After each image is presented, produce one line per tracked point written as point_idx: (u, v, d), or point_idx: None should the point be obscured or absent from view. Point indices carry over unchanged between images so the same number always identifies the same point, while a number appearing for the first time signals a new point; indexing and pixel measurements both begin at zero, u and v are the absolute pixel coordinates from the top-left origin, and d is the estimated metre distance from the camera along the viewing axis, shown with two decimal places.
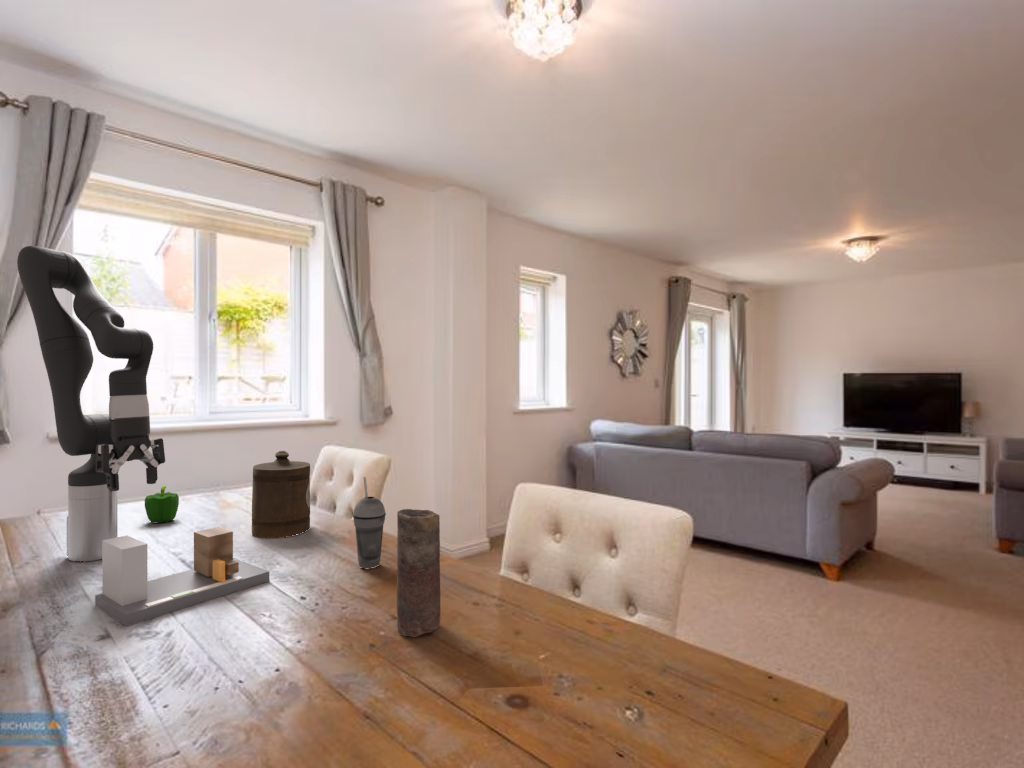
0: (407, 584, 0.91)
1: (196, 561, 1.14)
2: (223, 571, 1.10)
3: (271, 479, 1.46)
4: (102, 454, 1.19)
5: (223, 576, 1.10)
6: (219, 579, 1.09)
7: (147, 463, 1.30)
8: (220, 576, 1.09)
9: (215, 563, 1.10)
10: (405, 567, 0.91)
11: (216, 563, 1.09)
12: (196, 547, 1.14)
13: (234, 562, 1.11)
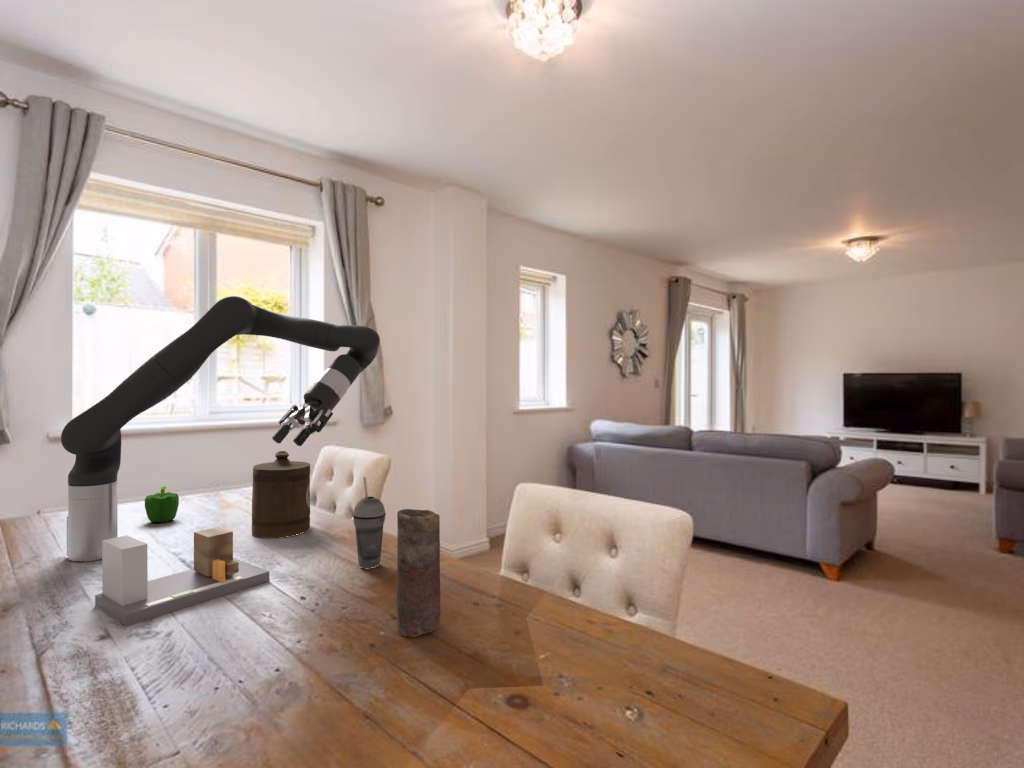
0: (407, 584, 0.91)
1: (196, 561, 1.14)
2: (223, 571, 1.10)
3: (271, 479, 1.46)
4: (328, 419, 1.29)
5: (223, 576, 1.10)
6: (219, 579, 1.09)
7: (286, 423, 1.33)
8: (220, 576, 1.09)
9: (215, 563, 1.10)
10: (405, 567, 0.91)
11: (216, 563, 1.09)
12: (196, 547, 1.14)
13: (234, 562, 1.11)
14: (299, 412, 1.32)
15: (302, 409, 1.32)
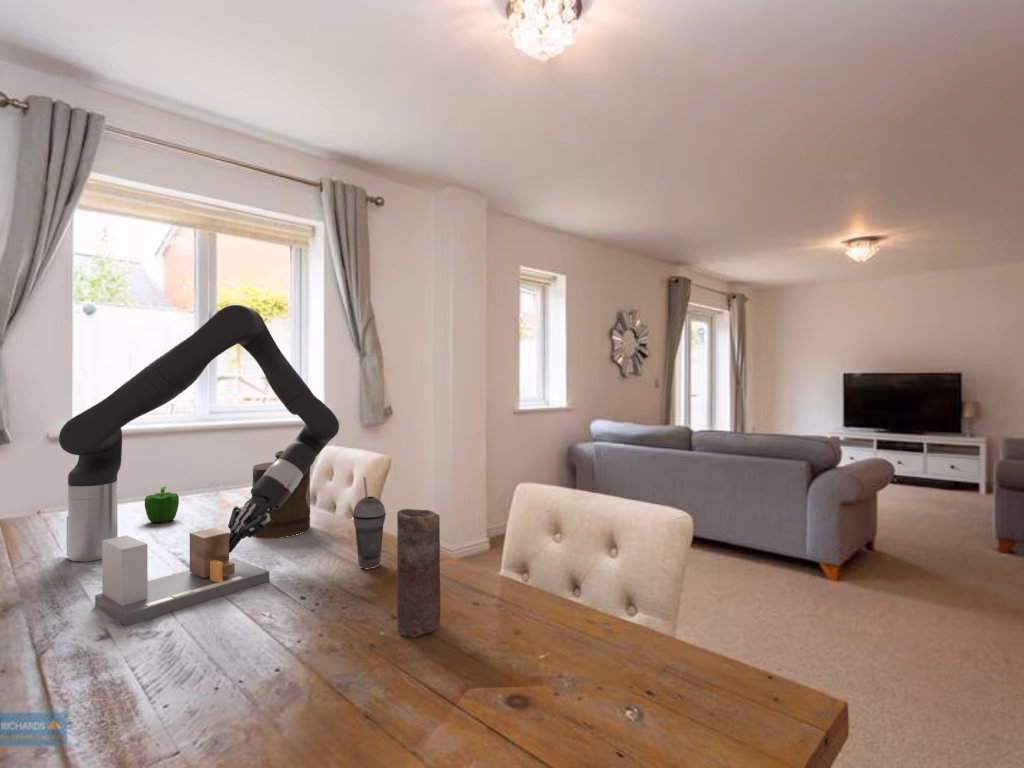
0: (407, 584, 0.91)
1: (191, 562, 1.14)
2: (220, 572, 1.09)
3: None
4: (263, 527, 1.19)
5: (220, 577, 1.09)
6: (217, 580, 1.08)
7: None
8: (217, 577, 1.09)
9: (212, 564, 1.09)
10: (405, 567, 0.91)
11: (213, 563, 1.09)
12: (192, 548, 1.14)
13: (230, 563, 1.11)
14: (247, 509, 1.22)
15: (249, 505, 1.22)
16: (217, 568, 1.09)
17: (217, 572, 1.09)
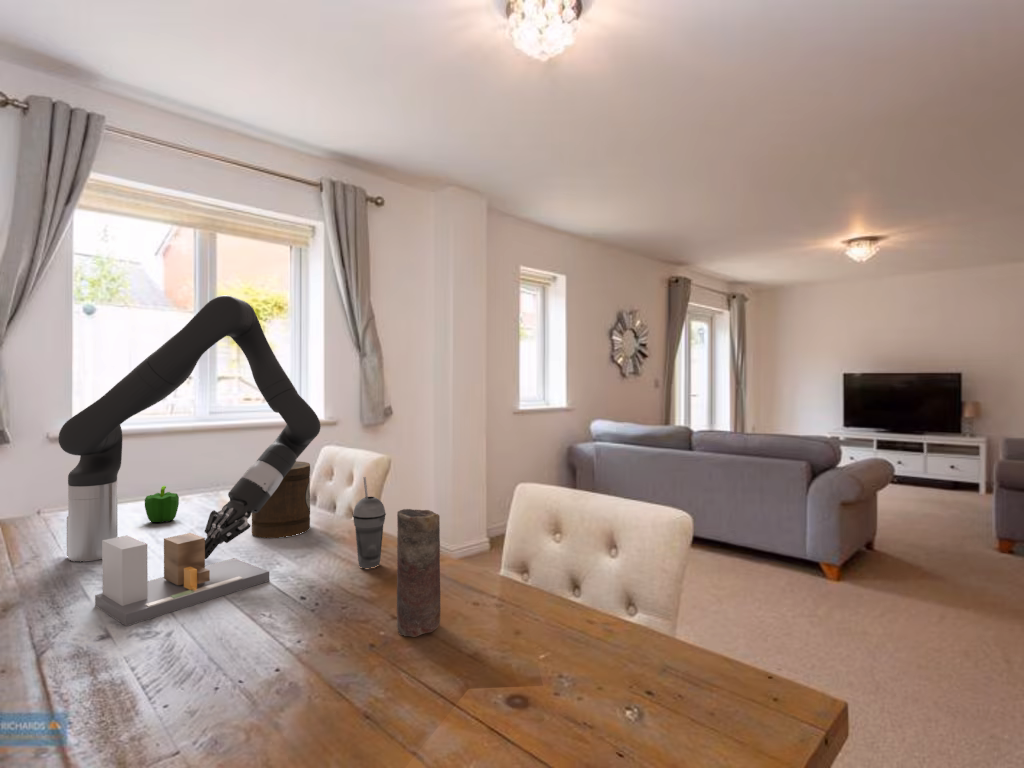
0: (407, 584, 0.91)
1: (166, 568, 1.10)
2: (195, 579, 1.05)
3: None
4: (240, 532, 1.15)
5: (195, 584, 1.05)
6: (190, 588, 1.04)
7: None
8: (191, 584, 1.05)
9: (186, 571, 1.05)
10: (405, 567, 0.91)
11: (187, 570, 1.05)
12: (166, 554, 1.10)
13: (205, 570, 1.07)
14: (224, 513, 1.18)
15: (227, 509, 1.18)
16: (191, 575, 1.05)
17: (191, 579, 1.05)
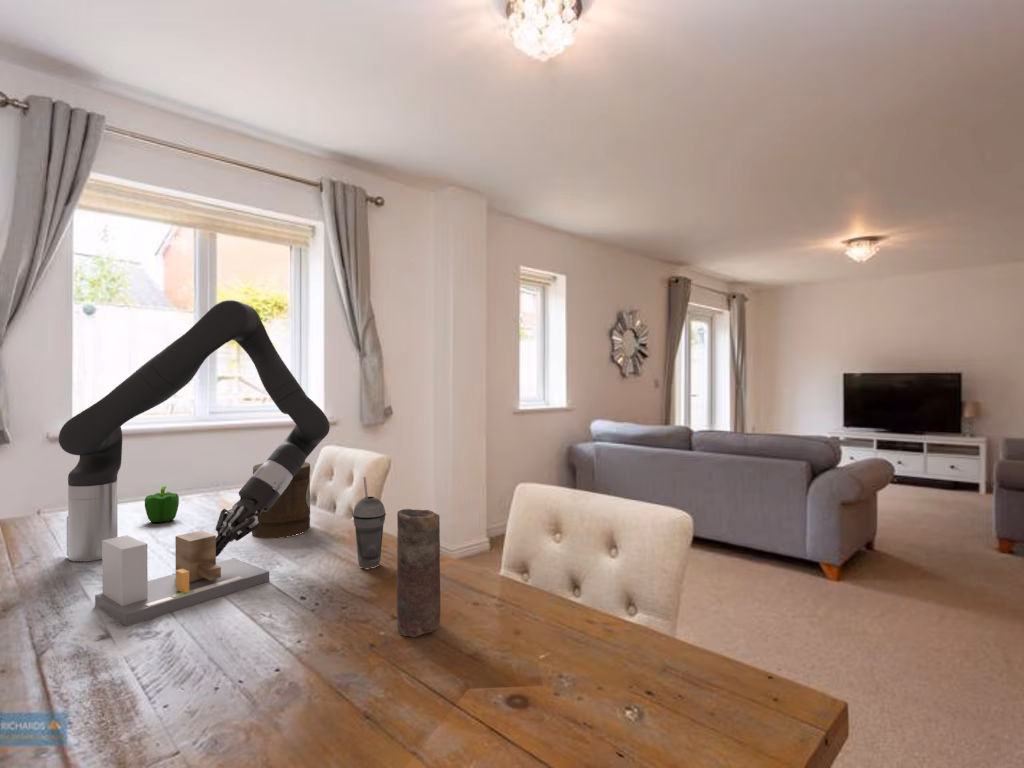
0: (407, 584, 0.91)
1: (177, 565, 1.11)
2: (187, 581, 1.04)
3: None
4: (251, 530, 1.17)
5: (187, 586, 1.04)
6: (182, 590, 1.03)
7: None
8: (183, 587, 1.04)
9: (178, 573, 1.04)
10: (405, 567, 0.91)
11: (179, 572, 1.04)
12: (178, 551, 1.11)
13: (216, 567, 1.08)
14: (235, 512, 1.20)
15: (237, 507, 1.20)
16: (183, 577, 1.04)
17: (183, 582, 1.04)
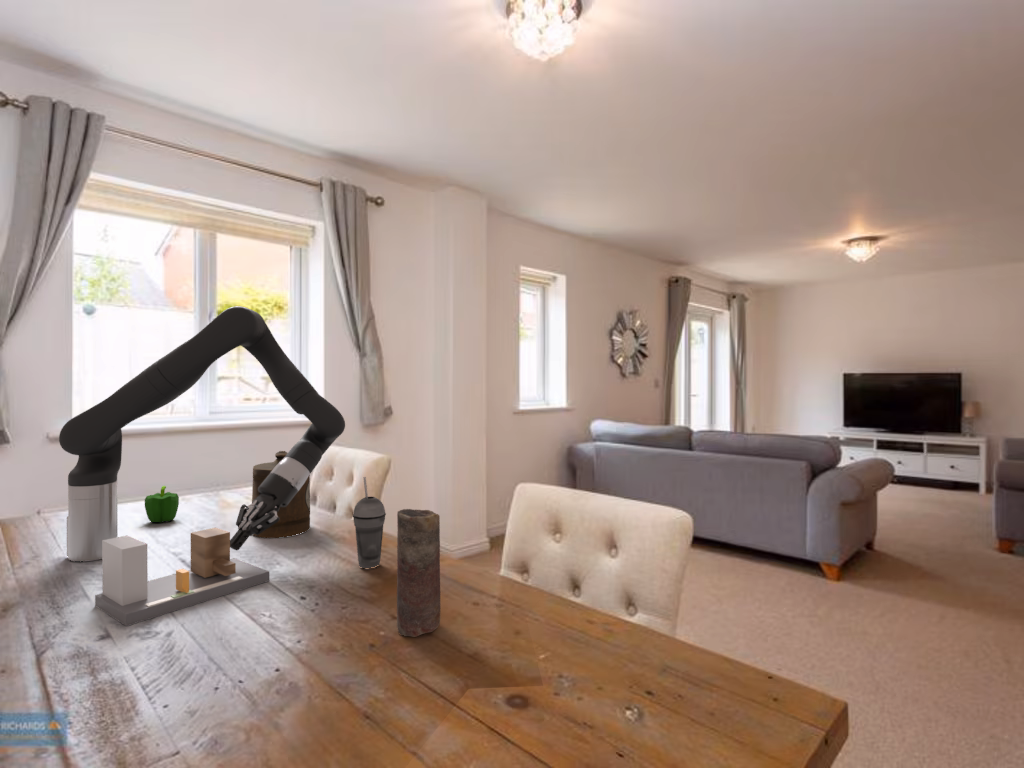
0: (407, 584, 0.91)
1: (192, 561, 1.14)
2: (187, 581, 1.04)
3: None
4: (270, 525, 1.20)
5: (187, 586, 1.04)
6: (182, 590, 1.03)
7: None
8: (183, 587, 1.04)
9: (178, 573, 1.04)
10: (405, 567, 0.91)
11: (179, 572, 1.04)
12: (193, 548, 1.14)
13: (231, 563, 1.11)
14: (255, 507, 1.23)
15: (257, 503, 1.23)
16: (183, 577, 1.04)
17: (183, 582, 1.04)
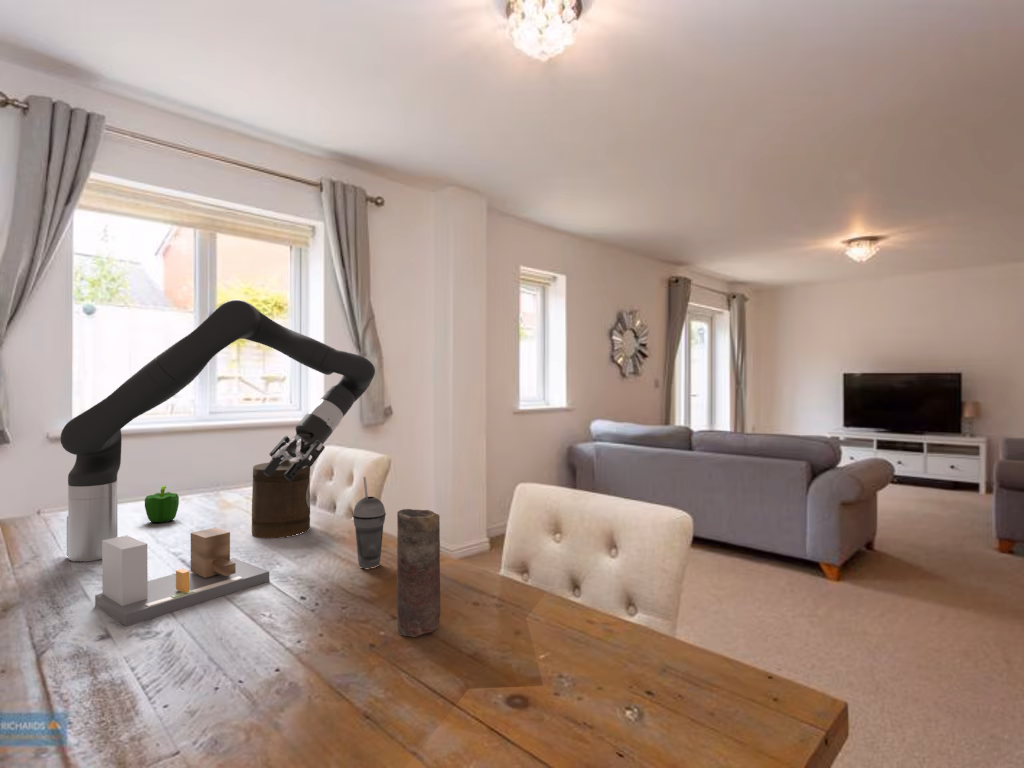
0: (407, 584, 0.91)
1: (192, 561, 1.14)
2: (187, 581, 1.04)
3: (271, 479, 1.46)
4: (319, 453, 1.27)
5: (187, 586, 1.04)
6: (182, 590, 1.03)
7: (277, 456, 1.31)
8: (183, 587, 1.04)
9: (178, 573, 1.04)
10: (405, 567, 0.91)
11: (179, 572, 1.04)
12: (193, 548, 1.14)
13: (231, 563, 1.11)
14: (290, 445, 1.31)
15: (293, 442, 1.31)
16: (183, 577, 1.04)
17: (183, 582, 1.04)
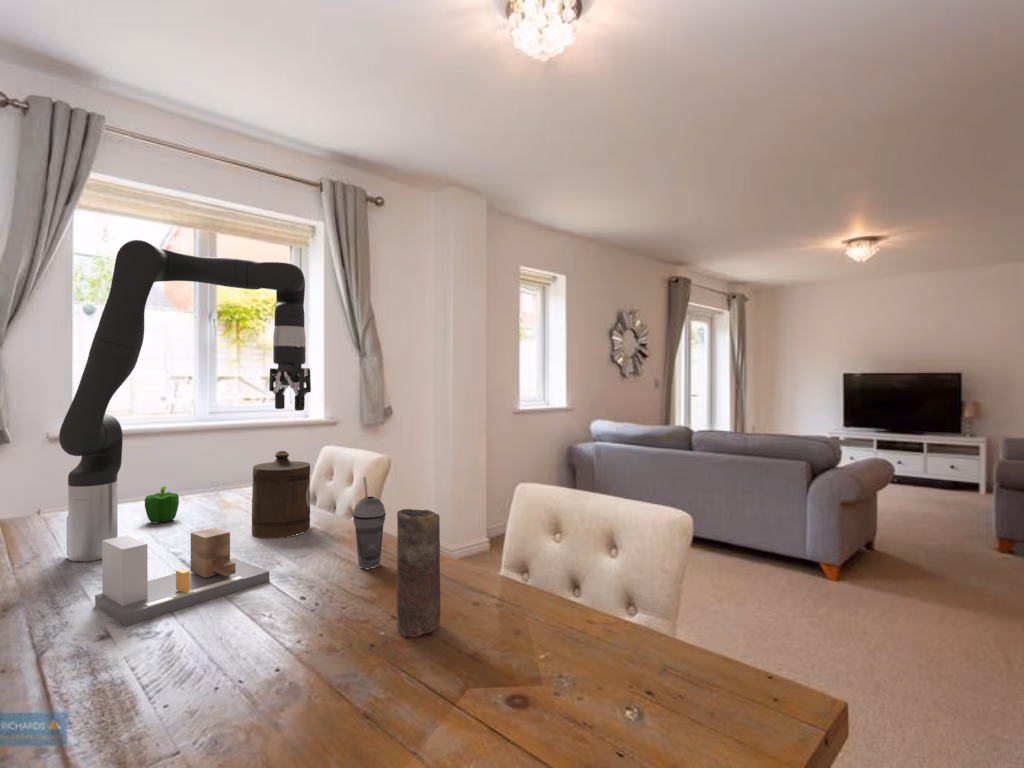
0: (407, 584, 0.91)
1: (192, 561, 1.14)
2: (187, 581, 1.04)
3: (271, 479, 1.46)
4: (309, 376, 1.37)
5: (187, 586, 1.04)
6: (182, 590, 1.03)
7: (277, 390, 1.42)
8: (183, 587, 1.04)
9: (178, 573, 1.04)
10: (405, 567, 0.91)
11: (179, 572, 1.04)
12: (193, 548, 1.14)
13: (231, 563, 1.11)
14: (281, 378, 1.40)
15: (281, 375, 1.39)
16: (183, 577, 1.04)
17: (183, 582, 1.04)
